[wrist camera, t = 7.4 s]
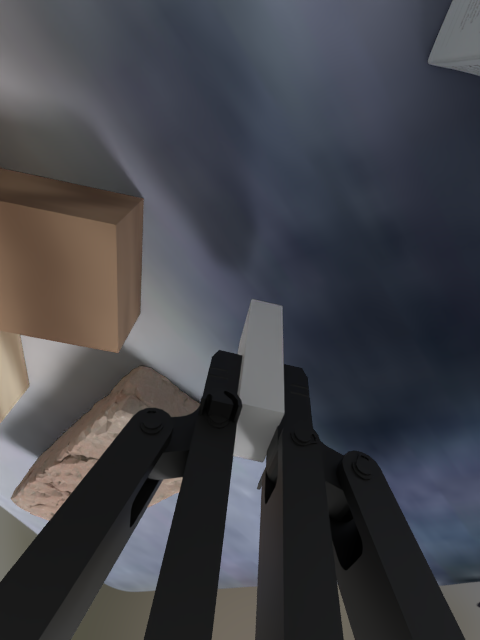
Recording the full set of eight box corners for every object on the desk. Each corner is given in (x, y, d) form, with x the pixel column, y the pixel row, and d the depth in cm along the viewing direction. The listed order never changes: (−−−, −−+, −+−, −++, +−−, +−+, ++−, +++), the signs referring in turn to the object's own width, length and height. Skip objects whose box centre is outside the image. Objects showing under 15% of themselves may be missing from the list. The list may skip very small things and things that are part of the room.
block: (145, 197, 17) (116, 224, 14) (141, 311, 21) (118, 353, 18) (3, 166, 17) (-60, 188, 14) (26, 288, 21) (-19, 327, 18)
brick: (139, 356, 24) (113, 411, 20) (229, 418, 27) (222, 476, 23) (37, 451, 31) (4, 504, 28) (116, 491, 34) (96, 544, 30)
